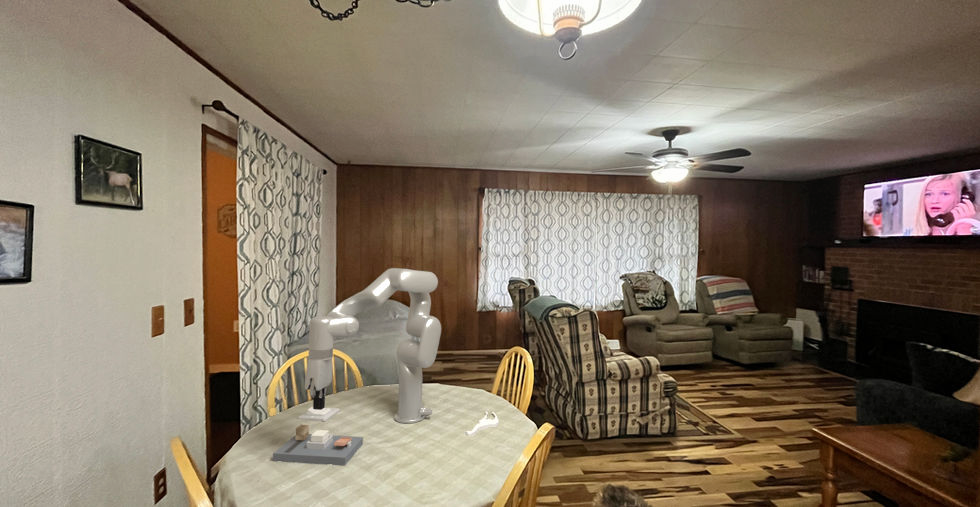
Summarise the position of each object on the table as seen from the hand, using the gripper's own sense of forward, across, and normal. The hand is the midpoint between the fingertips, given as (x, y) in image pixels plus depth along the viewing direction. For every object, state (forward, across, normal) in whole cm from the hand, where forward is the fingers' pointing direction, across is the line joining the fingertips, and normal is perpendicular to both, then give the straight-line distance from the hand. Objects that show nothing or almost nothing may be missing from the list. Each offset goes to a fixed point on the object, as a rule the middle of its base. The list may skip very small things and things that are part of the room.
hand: (318, 408), depth 132 cm
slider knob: (+12, -4, -8) cm, 15 cm away
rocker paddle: (+11, -1, +8) cm, 14 cm away
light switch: (+15, -30, -15) cm, 37 cm away
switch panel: (+15, -1, 0) cm, 15 cm away
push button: (+11, -1, 0) cm, 11 cm away
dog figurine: (+14, -28, +53) cm, 61 cm away
